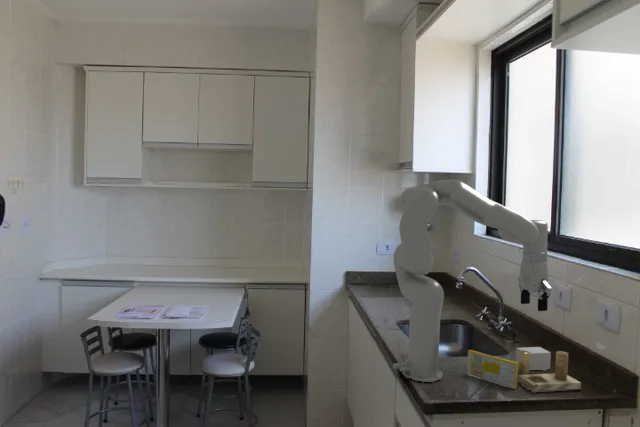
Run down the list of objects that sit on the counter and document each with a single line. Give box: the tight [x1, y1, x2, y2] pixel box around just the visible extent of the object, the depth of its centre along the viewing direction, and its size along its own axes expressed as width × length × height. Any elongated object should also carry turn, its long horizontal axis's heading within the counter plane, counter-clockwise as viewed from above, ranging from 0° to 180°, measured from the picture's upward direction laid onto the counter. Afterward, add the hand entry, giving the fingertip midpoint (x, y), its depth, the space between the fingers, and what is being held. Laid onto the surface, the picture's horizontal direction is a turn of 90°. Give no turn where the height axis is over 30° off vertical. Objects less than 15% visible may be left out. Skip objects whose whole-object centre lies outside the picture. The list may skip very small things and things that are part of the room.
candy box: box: [466, 349, 518, 388], centre depth 159 cm, size 16×2×8 cm, turn 44°
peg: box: [518, 350, 530, 375], centre depth 165 cm, size 3×3×8 cm
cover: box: [515, 346, 552, 371], centre depth 173 cm, size 9×6×6 cm, turn 101°
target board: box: [517, 350, 582, 391], centre depth 156 cm, size 16×8×10 cm, turn 101°
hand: (533, 307), depth 172 cm, fingers open, 9 cm apart
